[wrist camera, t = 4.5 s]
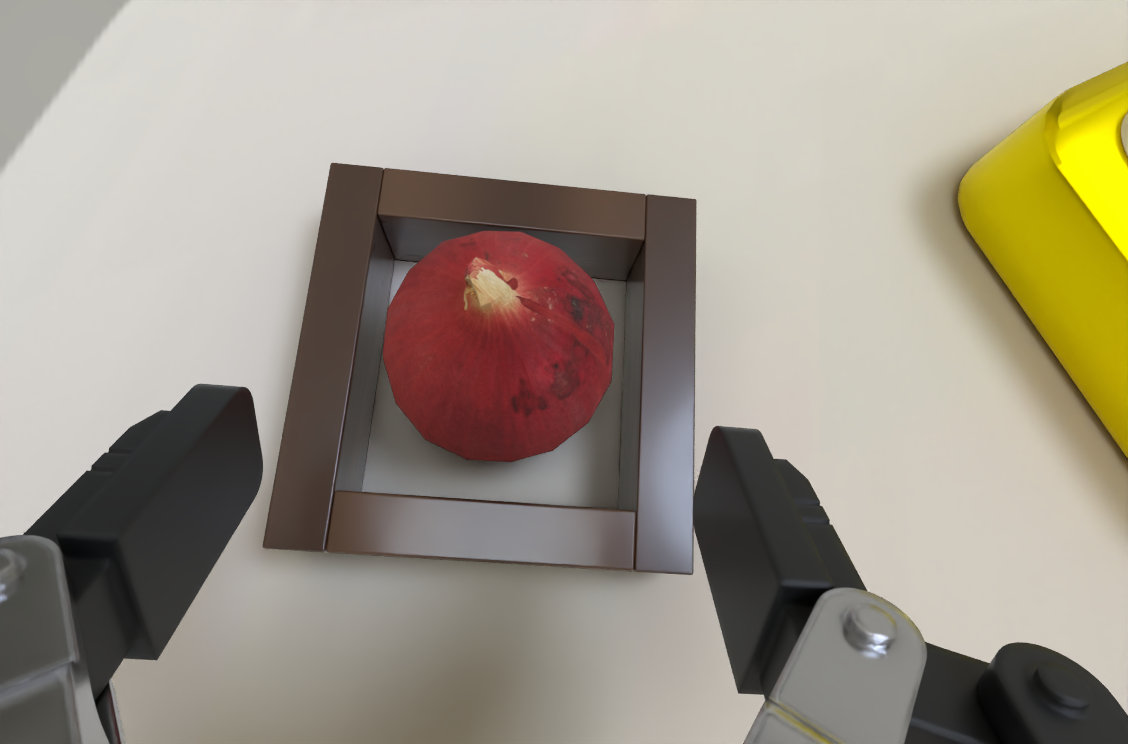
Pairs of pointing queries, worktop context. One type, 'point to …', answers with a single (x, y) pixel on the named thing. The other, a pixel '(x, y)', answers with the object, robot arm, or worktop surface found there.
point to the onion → (498, 346)
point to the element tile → (1065, 233)
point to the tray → (352, 356)
